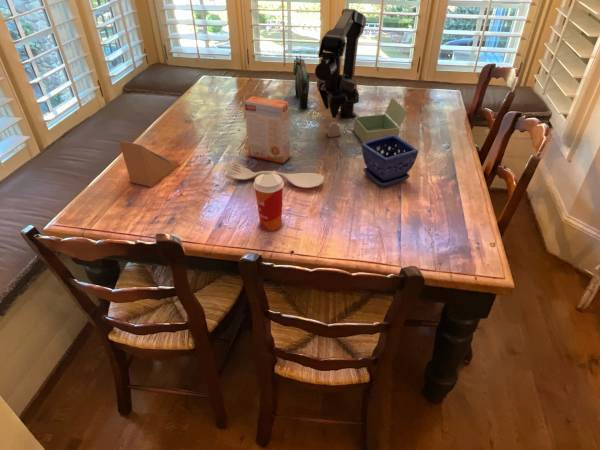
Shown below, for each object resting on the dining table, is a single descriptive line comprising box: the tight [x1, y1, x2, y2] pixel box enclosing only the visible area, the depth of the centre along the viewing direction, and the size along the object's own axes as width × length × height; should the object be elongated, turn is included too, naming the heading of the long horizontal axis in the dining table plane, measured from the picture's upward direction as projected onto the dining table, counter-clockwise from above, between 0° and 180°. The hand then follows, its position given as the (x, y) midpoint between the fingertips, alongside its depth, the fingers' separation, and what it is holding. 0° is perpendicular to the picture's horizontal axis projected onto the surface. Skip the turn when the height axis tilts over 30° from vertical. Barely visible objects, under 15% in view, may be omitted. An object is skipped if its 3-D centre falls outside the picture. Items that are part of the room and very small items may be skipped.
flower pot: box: [361, 135, 419, 188], centre depth 142 cm, size 13×13×12 cm
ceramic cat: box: [292, 55, 310, 111], centre depth 193 cm, size 20×6×20 cm, turn 6°
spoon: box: [224, 162, 325, 189], centre depth 143 cm, size 9×32×3 cm, turn 79°
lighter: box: [321, 116, 341, 138], centre depth 168 cm, size 7×2×8 cm, turn 103°
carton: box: [353, 113, 400, 143], centre depth 168 cm, size 14×13×6 cm
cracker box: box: [244, 95, 291, 164], centre depth 151 cm, size 14×6×21 cm, turn 65°
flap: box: [384, 97, 408, 128], centre depth 166 cm, size 14×6×1 cm
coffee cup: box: [253, 173, 285, 232], centre depth 121 cm, size 8×8×15 cm
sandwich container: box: [119, 140, 178, 188], centre depth 144 cm, size 9×15×15 cm, turn 158°
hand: (330, 113), depth 165 cm, fingers open, 9 cm apart
